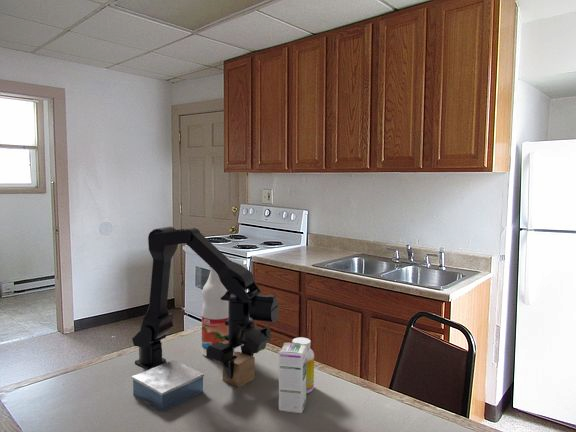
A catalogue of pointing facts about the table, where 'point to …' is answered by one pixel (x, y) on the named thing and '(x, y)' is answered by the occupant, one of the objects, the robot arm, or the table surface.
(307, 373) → the supplement bottle
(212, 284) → the fruit juice
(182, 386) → the slate tin
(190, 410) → the table surface
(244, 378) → the walnut block
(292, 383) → the syrup box
